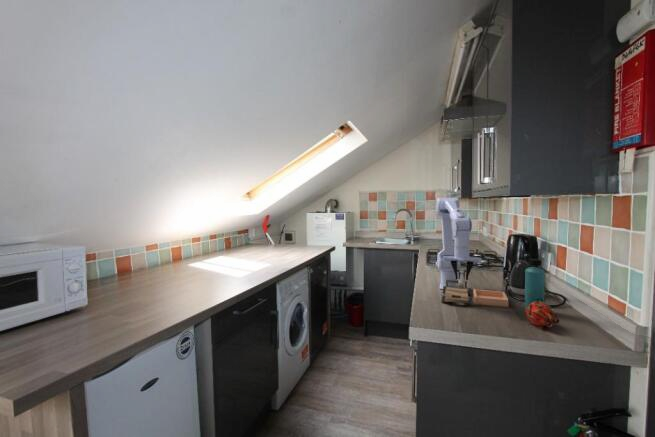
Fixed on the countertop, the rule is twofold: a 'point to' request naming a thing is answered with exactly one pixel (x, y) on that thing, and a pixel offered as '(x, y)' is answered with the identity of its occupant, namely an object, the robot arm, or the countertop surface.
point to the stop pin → (461, 278)
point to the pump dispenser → (518, 277)
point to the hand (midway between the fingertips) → (461, 279)
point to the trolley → (456, 293)
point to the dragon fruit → (541, 315)
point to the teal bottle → (534, 283)
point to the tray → (490, 298)
